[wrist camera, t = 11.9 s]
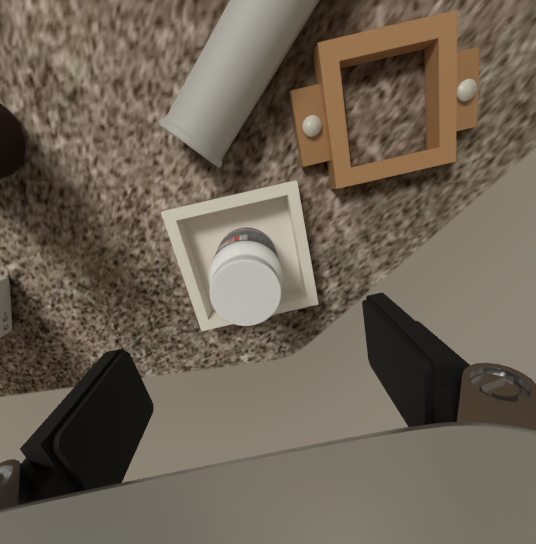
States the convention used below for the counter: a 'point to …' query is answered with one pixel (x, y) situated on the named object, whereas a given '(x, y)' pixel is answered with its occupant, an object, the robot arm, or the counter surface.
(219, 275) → the pill bottle
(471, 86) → the brown flat square frame
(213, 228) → the parts tray
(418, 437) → the robot arm
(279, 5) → the tube
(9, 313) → the skincare box
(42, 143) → the counter surface
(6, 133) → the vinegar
